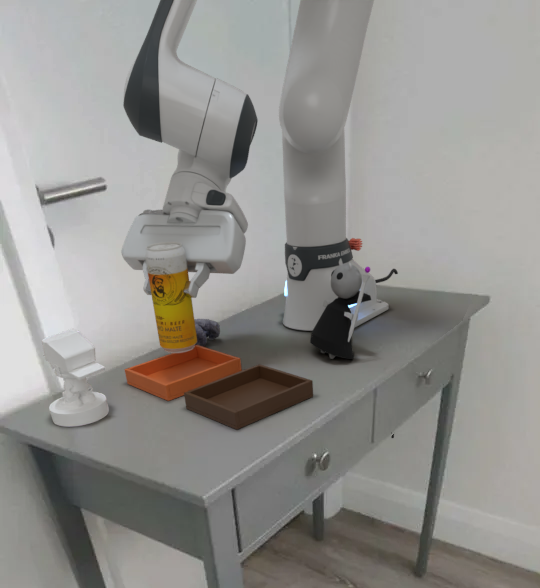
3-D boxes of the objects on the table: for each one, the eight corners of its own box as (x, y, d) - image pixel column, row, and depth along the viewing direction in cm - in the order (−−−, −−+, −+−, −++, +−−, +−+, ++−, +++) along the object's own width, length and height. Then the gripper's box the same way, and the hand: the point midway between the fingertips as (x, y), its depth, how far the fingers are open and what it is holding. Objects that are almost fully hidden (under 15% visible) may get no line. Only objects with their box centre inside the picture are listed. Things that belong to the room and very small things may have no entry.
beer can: (154, 353, 104) (135, 249, 95) (171, 341, 108) (156, 241, 99) (187, 355, 102) (172, 250, 93) (204, 343, 106) (191, 241, 97)
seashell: (216, 344, 125) (180, 361, 120) (200, 320, 125) (163, 336, 119) (229, 329, 121) (193, 347, 116) (213, 304, 120) (176, 320, 115)
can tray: (199, 358, 116) (197, 344, 114) (242, 373, 108) (240, 358, 107) (127, 383, 108) (124, 369, 107) (168, 401, 101) (165, 385, 99)
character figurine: (86, 400, 104) (66, 322, 97) (124, 411, 99) (106, 330, 91) (41, 419, 99) (16, 339, 91) (79, 432, 94) (56, 348, 86)
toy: (298, 344, 114) (319, 251, 107) (331, 349, 117) (354, 259, 110) (326, 363, 106) (352, 263, 98) (361, 368, 109) (389, 271, 101)
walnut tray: (260, 379, 105) (259, 363, 104) (313, 396, 98) (312, 380, 96) (186, 408, 98) (183, 392, 96) (236, 429, 91) (234, 412, 89)
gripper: (126, 196, 101) (103, 279, 100) (241, 195, 93) (217, 285, 93) (148, 223, 107) (125, 302, 106) (257, 224, 99) (234, 309, 99)
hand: (169, 294), depth 99 cm, fingers closed on beer can, 6 cm apart
